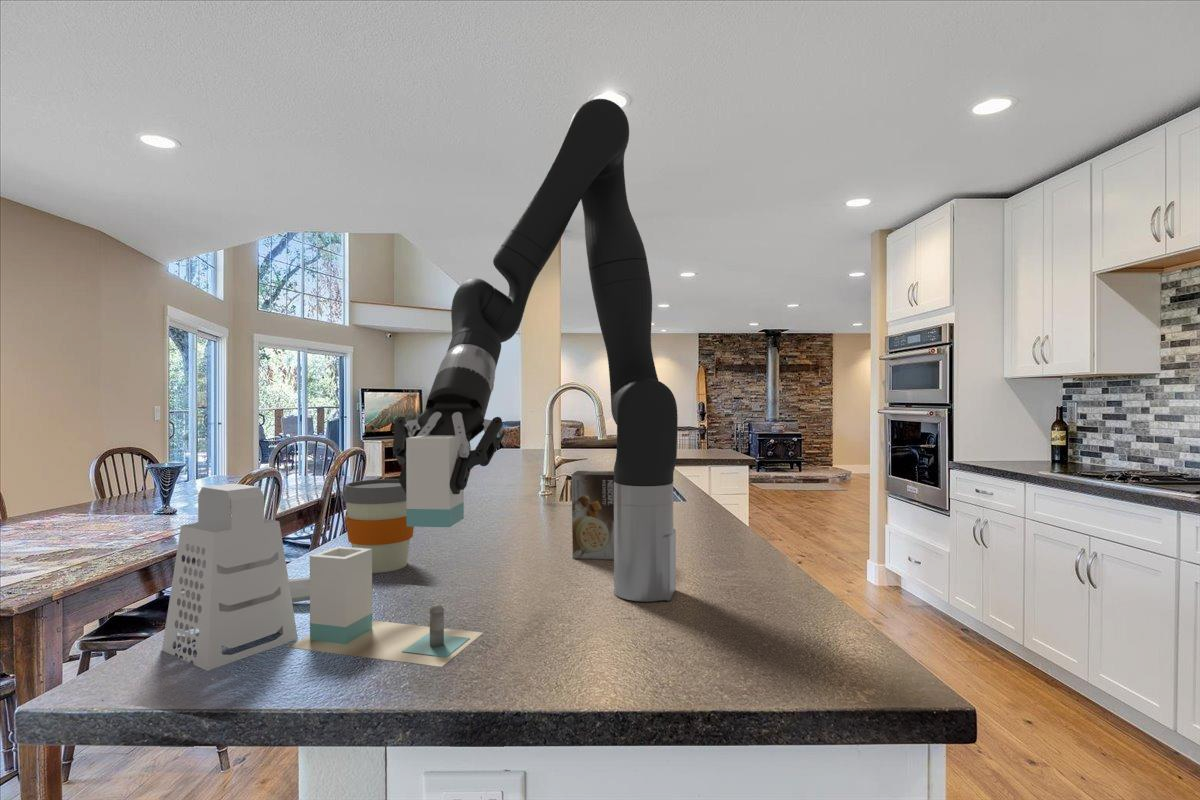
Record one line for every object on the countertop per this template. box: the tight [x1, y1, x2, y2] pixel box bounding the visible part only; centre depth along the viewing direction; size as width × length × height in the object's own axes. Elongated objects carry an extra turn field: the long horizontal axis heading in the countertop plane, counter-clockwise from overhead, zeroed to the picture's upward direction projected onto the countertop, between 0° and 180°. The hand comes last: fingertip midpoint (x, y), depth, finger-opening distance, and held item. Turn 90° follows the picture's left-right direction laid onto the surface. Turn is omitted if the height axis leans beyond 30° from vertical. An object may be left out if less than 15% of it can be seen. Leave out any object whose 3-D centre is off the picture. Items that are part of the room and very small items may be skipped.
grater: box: [161, 482, 299, 672], centre depth 73 cm, size 10×10×20 cm
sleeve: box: [406, 435, 465, 528], centre depth 72 cm, size 5×5×10 cm
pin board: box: [287, 603, 484, 668], centre depth 74 cm, size 20×10×6 cm, turn 75°
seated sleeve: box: [309, 546, 373, 644], centre depth 76 cm, size 5×5×10 cm
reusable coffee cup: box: [343, 478, 415, 574], centre depth 112 cm, size 13×13×15 cm
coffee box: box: [571, 470, 614, 560], centre depth 119 cm, size 9×6×16 cm
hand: (430, 489), depth 70 cm, fingers closed on sleeve, 5 cm apart
